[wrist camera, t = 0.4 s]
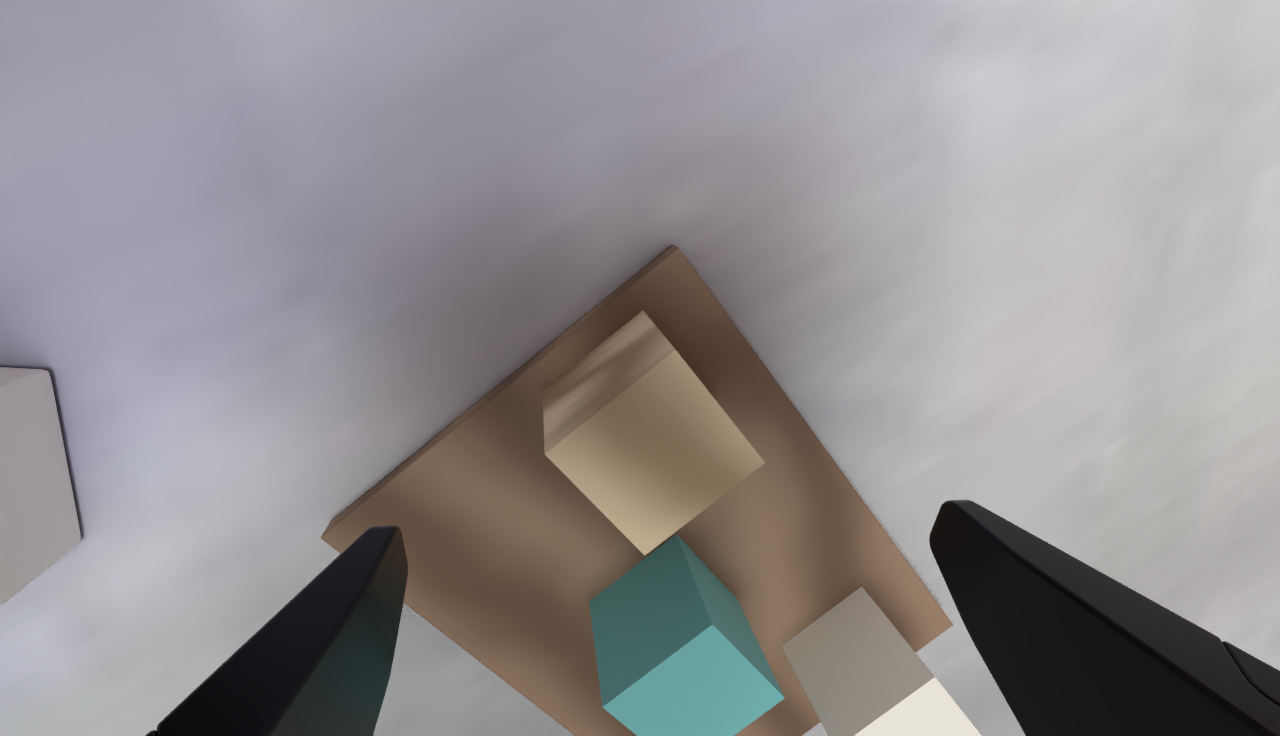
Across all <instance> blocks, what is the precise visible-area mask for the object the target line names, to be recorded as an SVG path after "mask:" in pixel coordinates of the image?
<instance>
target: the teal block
mask: <svg viewBox="0 0 1280 736" xmlns="http://www.w3.org/2000/svg"><path fill="white" fill-rule="evenodd" d="M589 605H590V613H591V621H592V628H593V636H594V644H595V652H596V660H597V668H598V676H599V684H600V691H601V699H602V707H603V708H604V709H605V710H606V711H608V712H609V713H610V714H611V715H612V716H614V717H615V718H616V719H617V720H619V721H620V722H621V723H622V724H623V725H625V726H626V727H627V728H628V729H629V730H631V731H632V732H633V733H634V734H636V735H637V736H734V735H736V734H737V733H738V732H740V731H741V730H742V729H744V728H745V727H746V726H748V725H749V724H751V723H752V722H753V721H755V720H756V719H757V718H759V717H760V716H761V715H763V714H764V713H765V712H767V711H768V710H770V709H771V708H772V707H774V706H775V705H776V704H778V703H779V702H780V701H782V700H783V699H784V698H785V697H784V695H783V693H782V691H781V689H780V687H779V685H778V683H777V680H776V678H775V676H774V674H773V672H772V670H771V668H770V666H769V664H768V662H767V660H766V658H765V656H764V653H763V651H762V649H761V647H760V645H759V643H758V641H757V639H756V637H755V635H754V633H753V631H752V629H751V626H750V624H749V622H748V620H747V618H746V616H745V614H744V612H743V610H742V608H741V606H740V604H739V602H738V600H737V599H736V597H735V596H734V595H733V594H732V593H731V592H730V591H729V590H728V589H727V588H726V587H725V586H724V585H723V584H722V582H721V581H720V580H719V579H718V578H717V577H716V576H715V575H714V574H713V573H712V572H711V571H710V570H709V569H708V567H707V566H706V565H705V564H704V563H703V562H702V561H701V560H700V559H699V558H698V557H697V556H696V555H695V554H694V552H693V551H692V550H691V549H690V548H689V547H688V546H687V545H686V544H685V543H684V542H683V541H682V540H681V539H680V537H679V536H678V535H677V534H676V535H675V536H674V537H672V538H671V539H670V540H668V541H667V542H666V543H664V544H663V545H662V546H661V547H659V548H658V549H657V550H655V551H654V552H653V553H652V554H650V555H649V556H648V557H646V558H645V559H644V560H642V561H641V562H640V563H639V564H637V565H636V566H635V567H633V568H632V569H631V570H629V571H628V572H627V573H626V574H624V575H623V576H622V577H620V578H619V579H618V580H616V581H615V582H614V583H613V584H611V585H610V586H609V587H607V588H606V589H605V590H603V591H602V592H601V593H600V594H598V595H597V596H596V597H594V598H593V599H592V600H590V601H589Z"/></svg>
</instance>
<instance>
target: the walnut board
mask: <svg viewBox="0 0 1280 736" xmlns="http://www.w3.org/2000/svg"><path fill="white" fill-rule="evenodd" d="M641 311H644V312H645V313H646V314H647V316H648V317H649V318H650V319H651V320H652V322H653V323H654V324H655V325H656V327H657V328H658V329H659V330H660V331H661V333H662V334H663V335H664V336H665V337H666V339H667V340H668V341H669V342H670V343H671V345H672V346H673V347H674V348H675V349H676V351H677V352H678V353H679V354H680V356H681V357H682V358H683V360H684V361H685V362H686V363H687V365H688V366H689V367H690V368H691V370H692V371H693V372H694V373H695V375H696V376H697V377H698V378H699V380H700V381H701V382H702V384H703V385H704V386H705V387H706V389H707V390H708V391H709V392H710V394H711V395H712V396H713V397H714V399H715V400H716V401H717V402H718V404H719V405H720V406H721V408H722V409H723V410H724V411H725V413H726V414H727V415H728V416H729V418H730V419H731V420H732V421H733V423H734V424H735V425H736V426H737V428H738V429H739V430H740V432H741V433H742V434H743V435H744V437H745V438H746V439H747V440H748V442H749V443H750V444H751V445H752V447H753V448H754V449H755V450H756V452H757V453H758V454H759V455H760V457H761V458H762V459H763V461H764V462H765V463H764V464H763V465H762V466H761V467H759V468H758V469H757V470H755V471H754V472H753V473H751V474H750V475H749V476H748V477H746V478H745V479H744V480H742V481H741V482H740V483H738V484H737V485H736V486H735V487H733V488H732V489H731V490H729V491H728V492H727V493H726V494H724V495H723V496H722V497H720V498H719V499H718V500H716V501H715V502H714V503H713V504H711V505H710V506H709V507H707V508H706V509H705V510H703V511H702V512H701V513H700V514H698V515H697V516H696V517H694V518H693V519H692V520H690V521H689V522H688V523H687V524H685V525H684V526H683V527H681V528H680V529H679V530H677V531H676V532H675V533H674V534H672V535H671V536H670V537H668V538H667V539H666V540H664V541H663V542H662V543H661V544H659V545H658V546H657V547H655V548H654V549H653V550H651V551H650V552H649V553H648V554H646V555H645V556H644V555H643V554H642V553H641V551H640V550H639V549H638V548H637V547H636V546H635V545H634V544H633V543H632V542H631V541H630V540H629V539H628V538H627V537H626V536H625V535H624V534H623V533H622V532H621V531H620V530H619V529H618V528H617V527H616V526H615V525H614V524H613V523H612V522H611V521H610V520H609V519H608V518H607V517H606V516H605V515H604V514H603V513H602V512H601V511H600V510H599V509H598V508H597V507H596V506H595V505H594V504H593V503H592V502H591V501H590V500H589V499H588V498H587V497H586V496H585V495H584V494H583V493H582V492H581V491H580V490H579V489H578V488H577V487H576V486H575V485H574V484H573V483H572V481H571V480H570V479H569V478H568V477H567V476H566V475H565V474H564V473H563V472H562V471H561V470H560V469H559V468H558V467H557V466H556V465H555V464H554V463H553V462H552V461H551V460H550V459H549V458H548V457H547V456H546V455H545V450H544V420H543V390H544V389H546V388H547V387H548V386H549V385H550V384H552V383H553V382H554V381H555V380H557V379H558V378H559V377H560V376H562V375H563V374H564V373H565V372H567V371H568V370H569V369H570V368H572V367H573V366H574V365H575V364H577V363H578V362H579V361H580V360H582V359H583V358H584V357H585V356H587V355H588V354H589V353H590V352H592V351H593V350H594V349H595V348H596V347H598V346H599V345H600V344H601V343H603V342H604V341H605V340H606V339H608V338H609V337H610V336H611V335H613V334H614V333H615V332H616V331H618V330H619V329H620V328H621V327H623V326H624V325H625V324H626V323H628V322H629V321H630V320H631V319H633V318H634V317H635V316H636V315H638V314H639V313H640V312H641ZM386 525H396V526H398V527H399V528H400V530H401V532H402V537H403V542H404V547H405V552H406V556H407V561H408V578H407V584H406V590H405V595H404V601H403V602H404V603H405V604H406V605H408V606H409V607H410V608H411V609H413V610H414V611H415V612H417V613H418V614H419V615H420V616H422V617H423V618H424V619H426V620H427V621H428V622H429V623H431V624H432V625H433V626H435V627H436V628H437V629H438V630H440V631H441V632H442V633H444V634H445V635H446V636H447V637H449V638H450V639H451V640H453V641H454V642H455V643H456V644H458V645H459V646H460V647H462V648H463V649H464V650H465V651H467V652H468V653H469V654H471V655H472V656H473V657H474V658H476V659H477V660H478V661H480V662H481V663H482V664H484V665H485V666H486V667H487V668H489V669H490V670H491V671H493V672H494V673H495V674H496V675H498V676H499V677H500V678H502V679H503V680H504V681H505V682H507V683H508V684H509V685H511V686H512V687H513V688H514V689H516V690H517V691H518V692H520V693H521V694H522V695H523V696H525V697H526V698H527V699H529V700H530V701H531V702H532V703H534V704H535V705H536V706H538V707H539V708H540V709H541V710H543V711H544V712H545V713H547V714H548V715H549V716H550V717H552V718H553V719H554V720H556V721H557V722H558V723H559V724H561V725H562V726H563V727H565V728H566V729H567V730H568V731H570V732H571V733H572V734H574V735H575V736H637V735H636V734H634V733H633V732H632V731H631V730H629V729H628V728H627V727H626V726H625V725H623V724H622V723H621V722H620V721H619V720H617V719H616V718H615V717H614V716H612V715H611V714H610V713H609V712H608V711H606V710H605V709H604V708H603V707H602V699H601V691H600V684H599V676H598V668H597V660H596V652H595V644H594V636H593V628H592V621H591V613H590V605H589V601H590V600H592V599H593V598H594V597H596V596H597V595H598V594H600V593H601V592H602V591H603V590H605V589H606V588H607V587H609V586H610V585H611V584H613V583H614V582H615V581H616V580H618V579H619V578H620V577H622V576H623V575H624V574H626V573H627V572H628V571H629V570H631V569H632V568H633V567H635V566H636V565H637V564H639V563H640V562H641V561H642V560H644V559H645V558H646V557H648V556H649V555H650V554H652V553H653V552H654V551H655V550H657V549H658V548H659V547H661V546H662V545H663V544H664V543H666V542H667V541H668V540H670V539H671V538H672V537H674V536H675V535H676V534H677V535H678V536H679V537H680V539H681V540H682V541H683V542H684V543H685V544H686V545H687V546H688V547H689V548H690V549H691V550H692V551H693V552H694V554H695V555H696V556H697V557H698V558H699V559H700V560H701V561H702V562H703V563H704V564H705V565H706V566H707V567H708V569H709V570H710V571H711V572H712V573H713V574H714V575H715V576H716V577H717V578H718V579H719V580H720V581H721V582H722V584H723V585H724V586H725V587H726V588H727V589H728V590H729V591H730V592H731V593H732V594H733V595H734V596H735V597H736V599H737V600H738V602H739V604H740V606H741V608H742V610H743V612H744V614H745V616H746V618H747V620H748V622H749V624H750V626H751V629H752V631H753V633H754V635H755V637H756V639H757V641H758V643H759V645H760V647H761V649H762V651H763V653H764V656H765V658H766V660H767V662H768V664H769V666H770V668H771V670H772V672H773V674H774V676H775V678H776V680H777V683H778V685H779V687H780V689H781V691H782V693H783V695H784V697H785V698H784V699H783V700H782V701H780V702H779V703H778V704H776V705H775V706H774V707H772V708H771V709H770V710H768V711H767V712H765V713H764V714H763V715H761V716H760V717H759V718H757V719H756V720H755V721H753V722H752V723H751V724H749V725H748V726H746V727H745V728H744V729H742V730H741V731H740V732H738V733H737V734H736V735H734V736H802V735H803V734H804V733H806V732H807V731H809V730H810V729H811V728H813V727H814V726H815V725H817V724H818V723H820V722H821V721H820V719H819V717H818V715H817V713H816V712H815V710H814V708H813V706H812V704H811V702H810V700H809V698H808V696H807V694H806V693H805V691H804V689H803V687H802V685H801V683H800V681H799V679H798V677H797V675H796V674H795V672H794V670H793V668H792V666H791V664H790V662H789V660H788V658H787V656H786V655H785V653H784V651H783V649H782V647H781V646H782V645H784V644H785V643H786V642H788V641H789V640H790V639H792V638H793V637H794V636H796V635H797V634H798V633H800V632H801V631H802V630H804V629H805V628H806V627H808V626H809V625H810V624H812V623H813V622H814V621H816V620H817V619H818V618H820V617H821V616H823V615H824V614H825V613H827V612H828V611H829V610H831V609H832V608H833V607H835V606H836V605H837V604H839V603H840V602H841V601H843V600H844V599H845V598H847V597H848V596H849V595H851V594H852V593H853V592H855V591H856V590H857V589H859V588H860V587H863V588H864V589H865V591H866V592H867V593H868V594H869V596H870V597H871V598H872V599H873V601H874V602H875V603H876V604H877V606H878V607H879V608H880V609H881V611H882V612H883V613H884V614H885V616H886V617H887V618H888V619H889V621H890V622H891V623H892V624H893V625H894V627H895V628H896V629H897V630H898V632H899V633H900V634H901V635H902V637H903V638H904V639H905V640H906V642H907V643H908V644H909V645H910V647H911V648H912V649H913V650H914V652H917V651H918V650H920V649H921V648H922V647H924V646H925V645H926V644H928V643H929V642H931V641H932V640H933V639H935V638H936V637H937V636H939V635H940V634H941V633H943V632H944V631H946V630H947V629H948V628H950V627H951V626H952V625H953V624H952V622H951V621H950V620H949V618H948V617H947V615H946V614H945V613H944V611H943V610H942V609H941V607H940V606H939V604H938V603H937V602H936V600H935V599H934V598H933V596H932V595H931V594H930V592H929V591H928V589H927V588H926V587H925V585H924V584H923V583H922V581H921V580H920V578H919V577H918V576H917V574H916V573H915V572H914V570H913V569H912V567H911V566H910V565H909V563H908V562H907V561H906V559H905V558H904V556H903V555H902V554H901V552H900V551H899V550H898V548H897V547H896V545H895V544H894V543H893V541H892V540H891V539H890V537H889V536H888V534H887V533H886V532H885V530H884V529H883V528H882V526H881V525H880V523H879V522H878V521H877V519H876V518H875V517H874V515H873V514H872V512H871V511H870V510H869V508H868V507H867V506H866V504H865V503H864V501H863V500H862V499H861V497H860V496H859V495H858V493H857V492H856V490H855V489H854V488H853V486H852V485H851V484H850V482H849V481H848V479H847V478H846V477H845V475H844V474H843V473H842V471H841V470H840V469H839V467H838V466H837V464H836V463H835V462H834V460H833V459H832V458H831V456H830V455H829V453H828V452H827V451H826V449H825V448H824V447H823V445H822V444H821V442H820V441H819V440H818V438H817V437H816V436H815V434H814V433H813V431H812V430H811V429H810V427H809V426H808V425H807V423H806V422H805V420H804V419H803V418H802V416H801V415H800V414H799V412H798V411H797V409H796V408H795V407H794V405H793V404H792V403H791V401H790V400H789V398H788V397H787V396H786V394H785V393H784V392H783V390H782V389H781V387H780V386H779V385H778V383H777V382H776V381H775V379H774V378H773V376H772V375H771V374H770V372H769V371H768V370H767V368H766V367H765V365H764V364H763V363H762V361H761V360H760V359H759V357H758V356H757V355H756V353H755V352H754V350H753V349H752V348H751V346H750V345H749V344H748V342H747V341H746V339H745V338H744V337H743V335H742V334H741V333H740V331H739V330H738V328H737V327H736V326H735V324H734V323H733V322H732V320H731V319H730V317H729V316H728V315H727V313H726V312H725V311H724V309H723V308H722V306H721V305H720V304H719V302H718V301H717V300H716V298H715V297H714V295H713V294H712V293H711V291H710V290H709V289H708V287H707V286H706V284H705V283H704V282H703V280H702V279H701V278H700V276H699V275H698V273H697V272H696V271H695V269H694V268H693V267H692V265H691V264H690V262H689V261H688V260H687V258H686V257H685V256H684V254H683V253H682V251H681V250H680V249H679V248H678V247H676V246H673V245H671V246H670V247H669V248H667V249H666V250H665V251H664V252H662V253H661V254H660V255H659V256H657V257H656V258H655V259H654V260H652V261H651V262H650V263H649V264H648V265H646V266H645V267H644V268H643V269H641V270H640V271H639V272H638V273H636V274H635V275H634V276H633V277H631V278H630V279H629V280H628V281H627V282H625V283H624V284H623V285H622V286H620V287H619V288H618V289H617V290H615V291H614V292H613V293H612V294H610V295H609V296H608V297H607V298H606V299H604V300H603V301H602V302H601V303H599V304H598V305H597V306H596V307H594V308H593V309H592V310H591V311H589V312H588V313H587V314H586V315H585V316H583V317H582V318H581V319H580V320H578V321H577V322H576V323H575V324H573V325H572V326H571V327H570V328H569V329H567V330H566V331H565V332H564V333H562V334H561V335H560V336H559V337H557V338H556V339H555V340H554V341H552V342H551V343H550V344H549V345H548V346H546V347H545V348H544V349H543V350H541V351H540V352H539V353H538V354H536V355H535V356H534V357H533V358H531V359H530V360H529V361H528V362H527V363H525V364H524V365H523V366H522V367H520V368H519V369H518V370H517V371H515V372H514V373H513V374H512V375H510V376H509V377H508V378H507V379H506V380H504V381H503V382H502V383H501V384H499V385H498V386H497V387H496V388H494V389H493V390H492V391H491V392H489V393H488V394H487V395H486V396H485V397H483V398H482V399H481V400H480V401H478V402H477V403H476V404H475V405H473V406H472V407H471V408H470V409H468V410H467V411H466V412H465V413H464V414H462V415H461V416H460V417H459V418H457V419H456V420H455V421H454V422H452V423H451V424H450V425H449V426H447V427H446V428H445V429H444V430H443V431H441V432H440V433H439V434H438V435H436V436H435V437H434V438H433V439H431V440H430V441H429V442H428V443H427V444H425V445H424V446H423V447H422V448H420V449H419V450H418V451H417V452H415V453H414V454H413V455H412V456H410V457H409V458H408V459H407V460H406V461H404V462H403V463H402V464H401V465H399V466H398V467H397V468H396V469H394V470H393V471H392V472H391V473H389V474H388V475H387V476H386V477H385V478H383V479H382V480H381V481H380V482H378V483H377V484H376V485H375V486H373V487H372V488H371V489H370V490H368V491H367V492H366V493H365V494H364V495H362V496H361V497H360V498H359V499H357V500H356V501H355V502H354V503H352V504H351V505H350V506H349V507H347V508H346V509H345V510H344V511H343V512H341V513H340V514H339V515H338V516H336V517H335V518H334V519H333V520H331V522H330V523H329V525H328V527H327V528H326V530H325V532H324V533H323V535H322V537H321V539H323V540H324V541H325V542H327V543H328V544H329V545H330V546H332V547H333V548H334V549H336V550H337V551H338V552H339V553H342V552H343V551H344V550H345V549H347V548H348V547H349V546H350V545H351V544H352V543H353V542H354V541H355V540H356V539H357V538H358V537H359V536H360V535H362V534H363V533H364V532H365V531H366V530H367V529H368V528H370V527H373V526H386Z"/></svg>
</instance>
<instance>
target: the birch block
mask: <svg viewBox="0 0 1280 736" xmlns="http://www.w3.org/2000/svg"><path fill="white" fill-rule="evenodd" d="M543 420H544V450H545V455H546V456H547V457H548V458H549V459H550V460H551V461H552V462H553V463H554V464H555V465H556V466H557V467H558V468H559V469H560V470H561V471H562V472H563V473H564V474H565V475H566V476H567V477H568V478H569V479H570V480H571V481H572V483H573V484H574V485H575V486H576V487H577V488H578V489H579V490H580V491H581V492H582V493H583V494H584V495H585V496H586V497H587V498H588V499H589V500H590V501H591V502H592V503H593V504H594V505H595V506H596V507H597V508H598V509H599V510H600V511H601V512H602V513H603V514H604V515H605V516H606V517H607V518H608V519H609V520H610V521H611V522H612V523H613V524H614V525H615V526H616V527H617V528H618V529H619V530H620V531H621V532H622V533H623V534H624V535H625V536H626V537H627V538H628V539H629V540H630V541H631V542H632V543H633V544H634V545H635V546H636V547H637V548H638V549H639V550H640V551H641V553H642V554H643V555H644V556H645V555H646V554H648V553H649V552H650V551H651V550H653V549H654V548H655V547H657V546H658V545H659V544H661V543H662V542H663V541H664V540H666V539H667V538H668V537H670V536H671V535H672V534H674V533H675V532H676V531H677V530H679V529H680V528H681V527H683V526H684V525H685V524H687V523H688V522H689V521H690V520H692V519H693V518H694V517H696V516H697V515H698V514H700V513H701V512H702V511H703V510H705V509H706V508H707V507H709V506H710V505H711V504H713V503H714V502H715V501H716V500H718V499H719V498H720V497H722V496H723V495H724V494H726V493H727V492H728V491H729V490H731V489H732V488H733V487H735V486H736V485H737V484H738V483H740V482H741V481H742V480H744V479H745V478H746V477H748V476H749V475H750V474H751V473H753V472H754V471H755V470H757V469H758V468H759V467H761V466H762V465H763V464H764V463H765V462H764V461H763V459H762V458H761V457H760V455H759V454H758V453H757V452H756V450H755V449H754V448H753V447H752V445H751V444H750V443H749V442H748V440H747V439H746V438H745V437H744V435H743V434H742V433H741V432H740V430H739V429H738V428H737V426H736V425H735V424H734V423H733V421H732V420H731V419H730V418H729V416H728V415H727V414H726V413H725V411H724V410H723V409H722V408H721V406H720V405H719V404H718V402H717V401H716V400H715V399H714V397H713V396H712V395H711V394H710V392H709V391H708V390H707V389H706V387H705V386H704V385H703V384H702V382H701V381H700V380H699V378H698V377H697V376H696V375H695V373H694V372H693V371H692V370H691V368H690V367H689V366H688V365H687V363H686V362H685V361H684V360H683V358H682V357H681V356H680V354H679V353H678V352H677V351H676V349H675V348H674V347H673V346H672V345H671V343H670V342H669V341H668V340H667V339H666V337H665V336H664V335H663V334H662V333H661V331H660V330H659V329H658V328H657V327H656V325H655V324H654V323H653V322H652V320H651V319H650V318H649V317H648V316H647V314H646V313H645V312H644V311H641V312H640V313H639V314H638V315H636V316H635V317H634V318H633V319H631V320H630V321H629V322H628V323H626V324H625V325H624V326H623V327H621V328H620V329H619V330H618V331H616V332H615V333H614V334H613V335H611V336H610V337H609V338H608V339H606V340H605V341H604V342H603V343H601V344H600V345H599V346H598V347H596V348H595V349H594V350H593V351H592V352H590V353H589V354H588V355H587V356H585V357H584V358H583V359H582V360H580V361H579V362H578V363H577V364H575V365H574V366H573V367H572V368H570V369H569V370H568V371H567V372H565V373H564V374H563V375H562V376H560V377H559V378H558V379H557V380H555V381H554V382H553V383H552V384H550V385H549V386H548V387H547V388H546V389H544V390H543Z"/></svg>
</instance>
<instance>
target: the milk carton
mask: <svg viewBox="0 0 1280 736" xmlns="http://www.w3.org/2000/svg"><path fill="white" fill-rule="evenodd" d="M80 541H81V534H80V528H79V523H78V517H77V512H76V507H75V501H74V496H73V491H72V486H71V480H70V475H69V470H68V465H67V459H66V454H65V449H64V444H63V438H62V433H61V428H60V423H59V417H58V412H57V407H56V402H55V396H54V391H53V386H52V382H51V378H50V374H49V372H48V371H46V370H42V369H26V368H7V367H0V606H1V605H3V604H4V603H5V602H6V601H8V600H9V599H10V598H11V597H13V596H14V595H15V594H16V593H18V592H19V591H20V590H21V589H23V588H24V587H25V586H26V585H28V584H29V583H30V582H32V581H33V580H34V579H35V578H37V577H38V576H39V575H40V574H42V573H43V572H44V571H45V570H47V569H48V568H49V567H50V566H52V565H53V564H54V563H55V562H57V561H58V560H59V559H60V558H62V557H63V556H64V555H65V554H67V553H68V552H69V551H70V550H72V549H73V548H74V547H75V546H76V545H78V544H79V542H80Z"/></svg>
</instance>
